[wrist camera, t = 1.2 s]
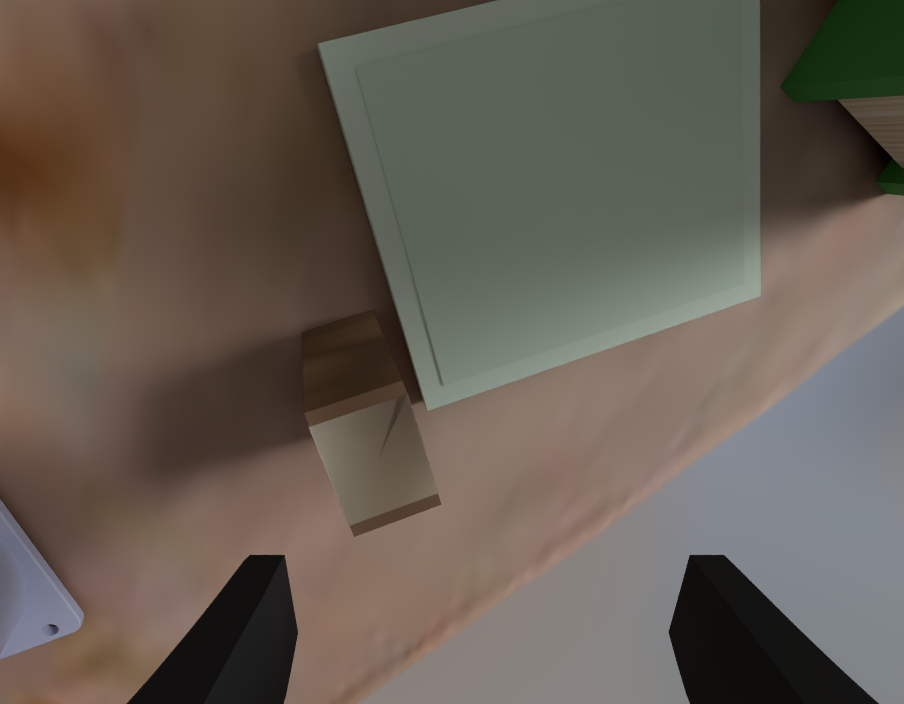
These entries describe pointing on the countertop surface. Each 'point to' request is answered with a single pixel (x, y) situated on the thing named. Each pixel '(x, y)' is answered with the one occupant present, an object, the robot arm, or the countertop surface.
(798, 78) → the hardback book
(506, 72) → the tray
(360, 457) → the walnut block
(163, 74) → the countertop surface
